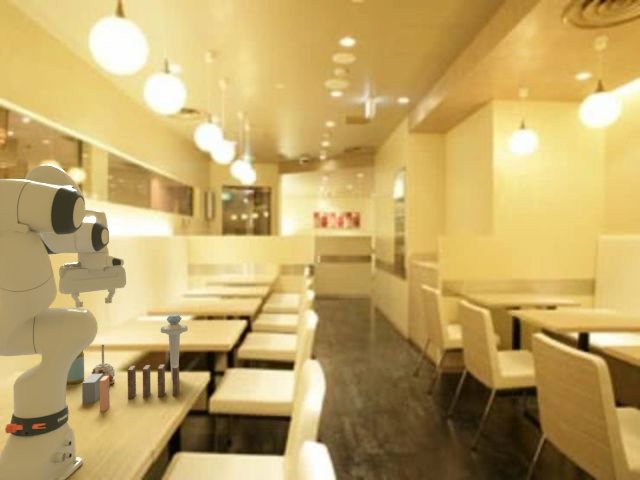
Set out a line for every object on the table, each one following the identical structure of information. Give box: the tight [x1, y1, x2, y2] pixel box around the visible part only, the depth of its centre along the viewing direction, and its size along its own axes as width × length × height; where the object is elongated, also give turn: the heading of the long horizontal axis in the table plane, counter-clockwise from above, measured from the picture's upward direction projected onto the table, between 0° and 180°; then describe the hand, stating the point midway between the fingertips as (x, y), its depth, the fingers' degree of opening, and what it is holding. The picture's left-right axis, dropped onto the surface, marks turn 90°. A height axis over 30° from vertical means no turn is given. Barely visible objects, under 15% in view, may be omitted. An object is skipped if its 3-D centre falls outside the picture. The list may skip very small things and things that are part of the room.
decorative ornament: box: [91, 344, 115, 385], centre depth 182 cm, size 8×8×15 cm
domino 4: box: [157, 364, 166, 398], centre depth 170 cm, size 2×5×10 cm, turn 9°
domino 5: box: [172, 363, 180, 397], centre depth 171 cm, size 2×5×10 cm, turn 9°
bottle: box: [66, 350, 85, 385], centre depth 185 cm, size 7×7×15 cm
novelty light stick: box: [160, 314, 188, 380], centre depth 188 cm, size 10×10×25 cm
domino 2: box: [127, 365, 137, 400], centre depth 168 cm, size 2×5×10 cm, turn 9°
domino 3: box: [142, 364, 152, 399], centre depth 169 cm, size 2×5×10 cm, turn 9°
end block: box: [81, 373, 103, 404], centre depth 166 cm, size 10×4×7 cm, turn 9°
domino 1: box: [99, 376, 111, 412], centre depth 157 cm, size 2×5×10 cm, turn 9°
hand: (94, 305), depth 152 cm, fingers open, 8 cm apart
